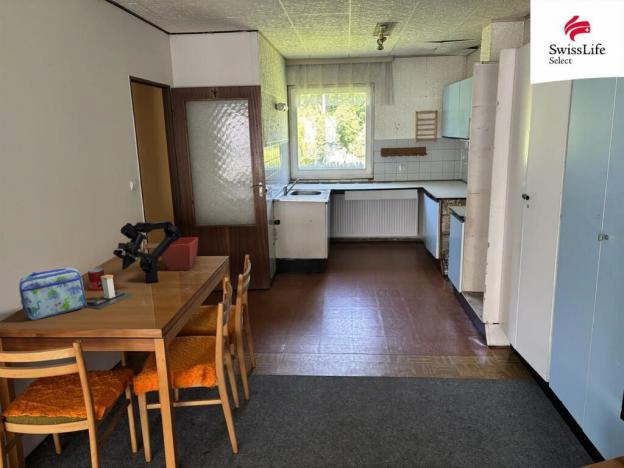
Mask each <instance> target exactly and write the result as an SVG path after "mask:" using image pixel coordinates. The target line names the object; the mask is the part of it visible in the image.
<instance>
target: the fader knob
mask: <svg viewBox="0 0 624 468" xmlns="http://www.w3.org/2000/svg"><path fill="white" fill-rule="evenodd" d="M100 278H101V279H102V284H103V290H102V291H103V296H104V298H109V299H110V298H112V297H115V292H114V291H115V286H114V285H115V284H114V280H113V278H114V275H113V274H104V276H102V277H100Z"/></svg>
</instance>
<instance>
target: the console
mask: <svg viewBox="0 0 624 468" xmlns="http://www.w3.org/2000/svg"><path fill="white" fill-rule="evenodd" d="M114 292H115V297H112V298H110V299H109V298H104V295H101V296H100V297H97V298H94V299H92V300H89V301H86V303H85V306H84V307H83V308H91V309H95V310H96V309H97V310H102V309H105V308H106V307H109V306H111V305H113V304H115V303H118V302H120V301H123V300H125V299H126V298H129V297H131V296H133V295H132V294H133V293H132V292H122V291H118V290H117V291H116V290H114Z"/></svg>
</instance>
